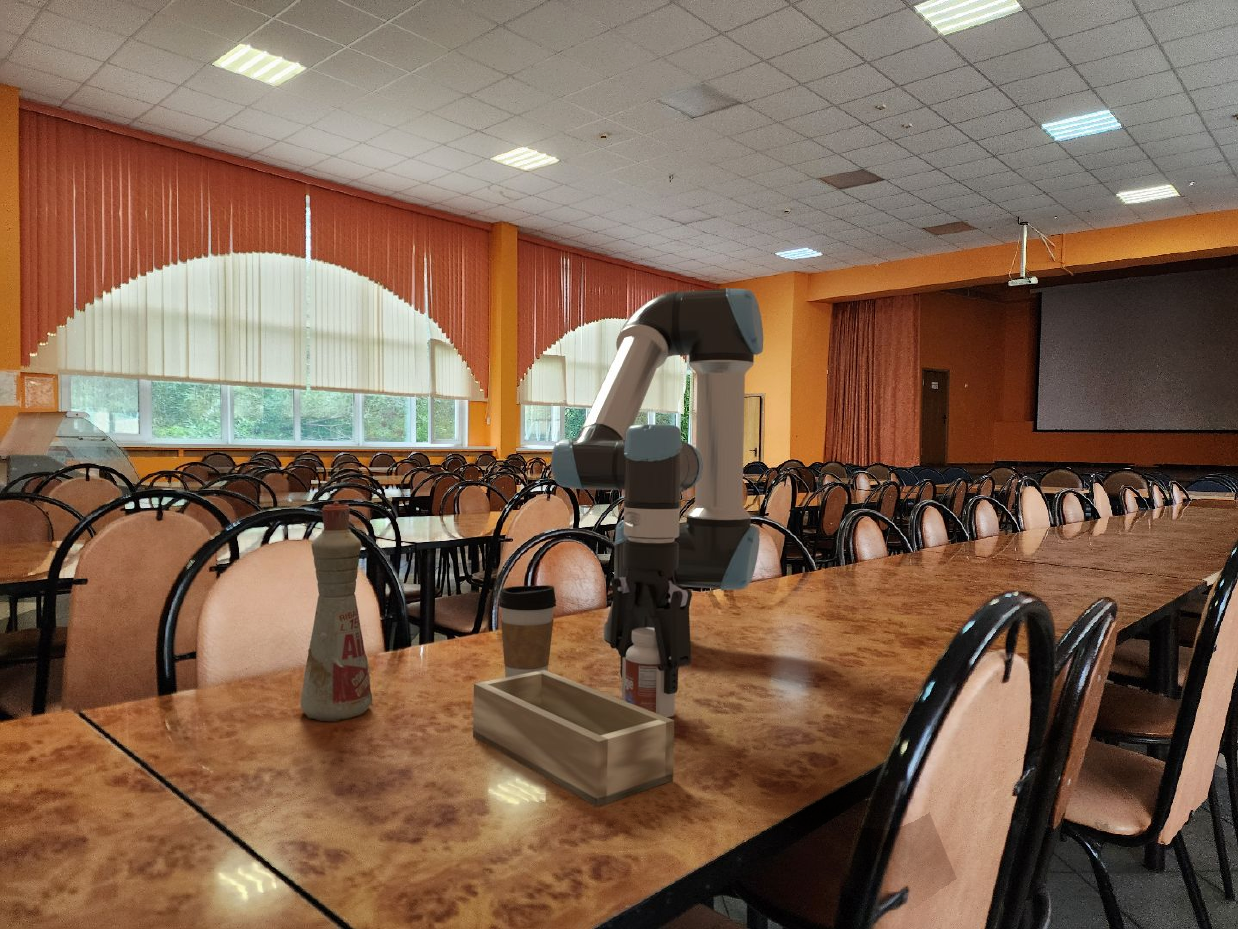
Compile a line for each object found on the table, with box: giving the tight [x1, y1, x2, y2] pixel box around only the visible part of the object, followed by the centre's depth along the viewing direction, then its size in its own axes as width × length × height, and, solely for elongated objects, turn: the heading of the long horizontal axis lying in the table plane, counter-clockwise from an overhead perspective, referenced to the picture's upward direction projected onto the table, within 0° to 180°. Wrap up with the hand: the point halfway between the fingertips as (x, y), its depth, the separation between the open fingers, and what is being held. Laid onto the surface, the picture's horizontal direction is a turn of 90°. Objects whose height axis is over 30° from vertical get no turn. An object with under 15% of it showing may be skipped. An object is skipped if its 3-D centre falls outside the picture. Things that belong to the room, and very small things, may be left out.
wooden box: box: [472, 670, 675, 808], centre depth 92 cm, size 10×24×6 cm, turn 40°
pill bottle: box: [625, 627, 671, 713], centre depth 108 cm, size 6×6×11 cm
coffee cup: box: [498, 584, 557, 678], centre depth 118 cm, size 8×8×15 cm
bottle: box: [300, 501, 373, 723], centre depth 106 cm, size 9×9×28 cm
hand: (647, 709), depth 108 cm, fingers closed on pill bottle, 6 cm apart
